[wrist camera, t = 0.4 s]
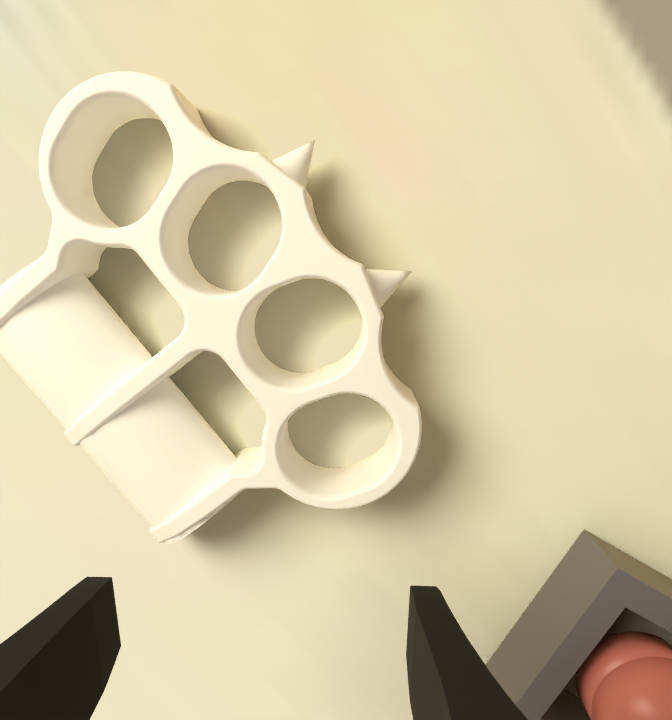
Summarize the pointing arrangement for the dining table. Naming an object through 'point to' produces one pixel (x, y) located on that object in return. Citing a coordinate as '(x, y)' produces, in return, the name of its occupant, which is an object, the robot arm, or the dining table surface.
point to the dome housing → (574, 625)
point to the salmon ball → (627, 678)
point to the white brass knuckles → (187, 323)
